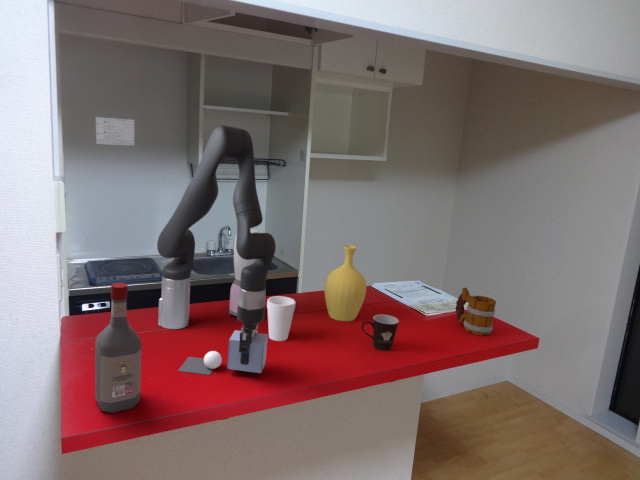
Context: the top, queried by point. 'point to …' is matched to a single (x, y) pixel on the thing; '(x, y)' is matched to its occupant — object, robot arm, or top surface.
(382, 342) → the coffee mug
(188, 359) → the tape square
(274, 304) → the foam cup
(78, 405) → the top surface
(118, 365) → the liquor
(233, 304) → the blender
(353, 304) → the vase
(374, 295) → the top surface
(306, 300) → the top surface
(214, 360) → the ball
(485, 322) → the mug
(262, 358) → the periwinkle rectangular block
